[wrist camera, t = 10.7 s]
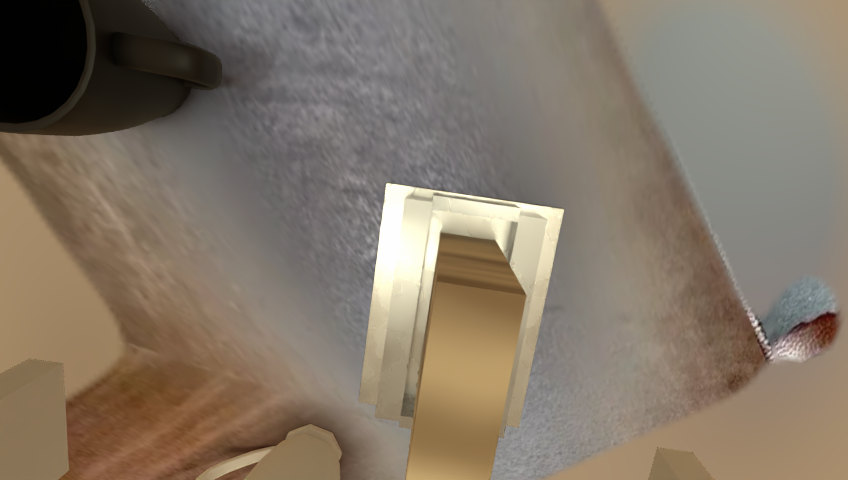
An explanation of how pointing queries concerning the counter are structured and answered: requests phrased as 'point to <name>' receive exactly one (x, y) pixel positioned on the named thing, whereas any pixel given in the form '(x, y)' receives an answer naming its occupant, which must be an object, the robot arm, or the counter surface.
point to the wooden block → (465, 361)
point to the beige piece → (413, 277)
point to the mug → (92, 67)
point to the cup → (289, 458)
